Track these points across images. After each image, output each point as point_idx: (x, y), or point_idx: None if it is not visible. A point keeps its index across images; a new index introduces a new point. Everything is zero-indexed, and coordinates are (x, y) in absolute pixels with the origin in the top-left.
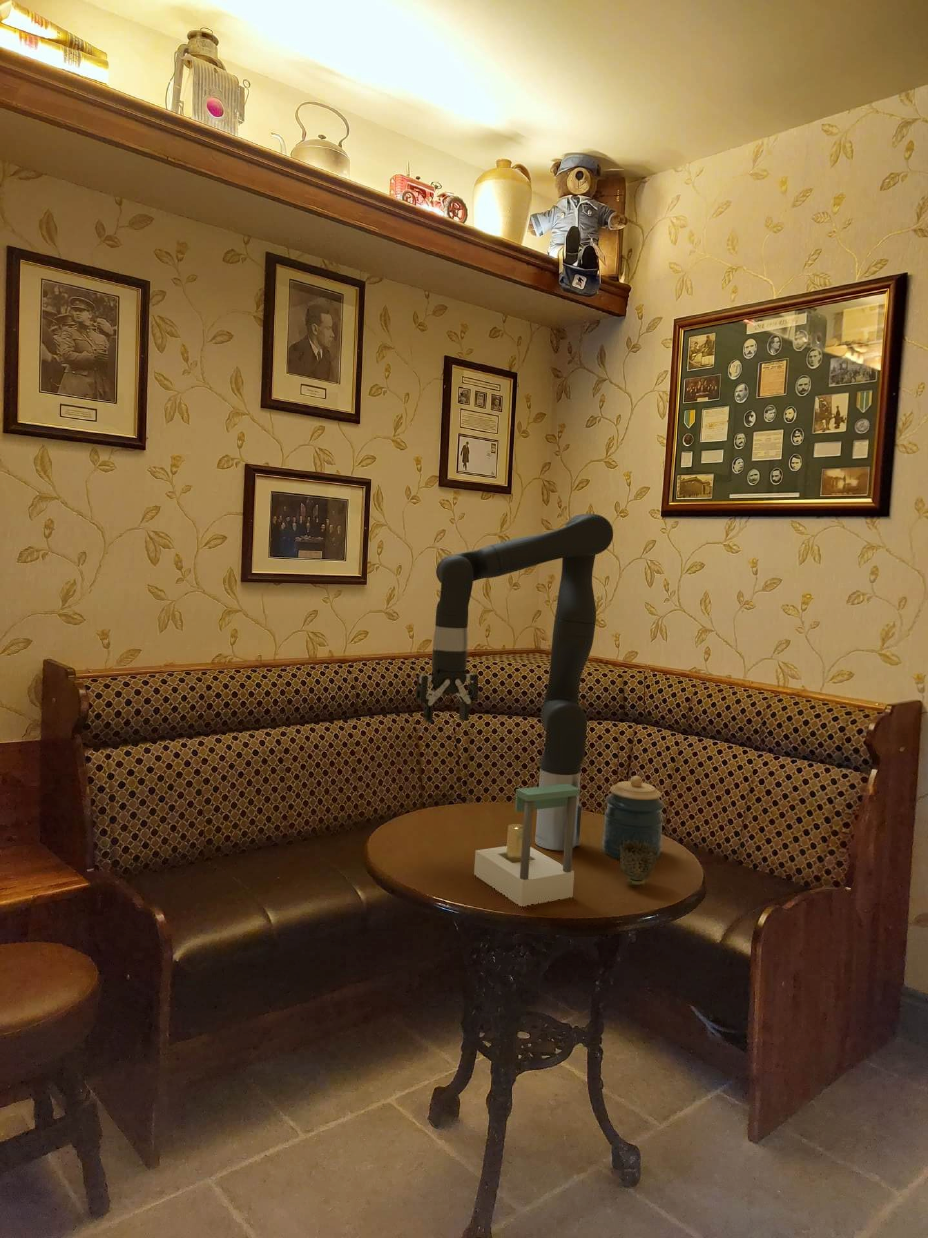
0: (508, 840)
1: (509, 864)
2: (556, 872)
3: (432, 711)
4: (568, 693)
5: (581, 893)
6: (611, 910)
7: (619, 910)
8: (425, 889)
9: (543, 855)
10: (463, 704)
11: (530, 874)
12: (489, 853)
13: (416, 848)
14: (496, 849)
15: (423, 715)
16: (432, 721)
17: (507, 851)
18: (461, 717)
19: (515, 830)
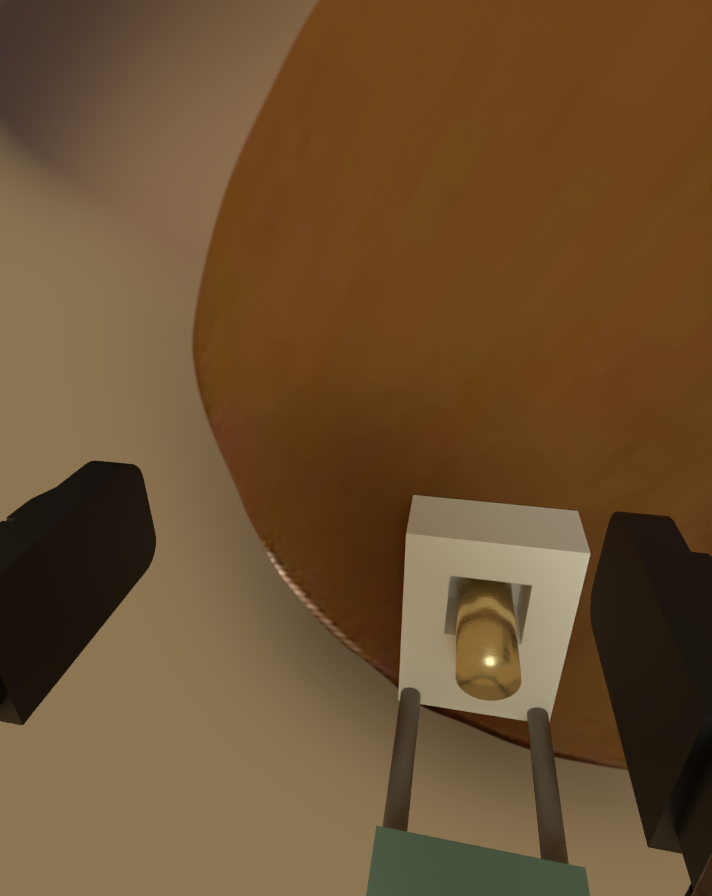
0: (456, 641)
1: (431, 634)
2: (505, 709)
3: (65, 657)
4: None
5: (578, 670)
6: (565, 736)
7: (580, 743)
8: (259, 509)
9: (563, 636)
10: (658, 808)
11: (438, 689)
12: (429, 565)
13: (362, 245)
14: (469, 553)
15: (19, 511)
16: (149, 564)
17: (457, 615)
18: (609, 579)
19: (461, 688)
